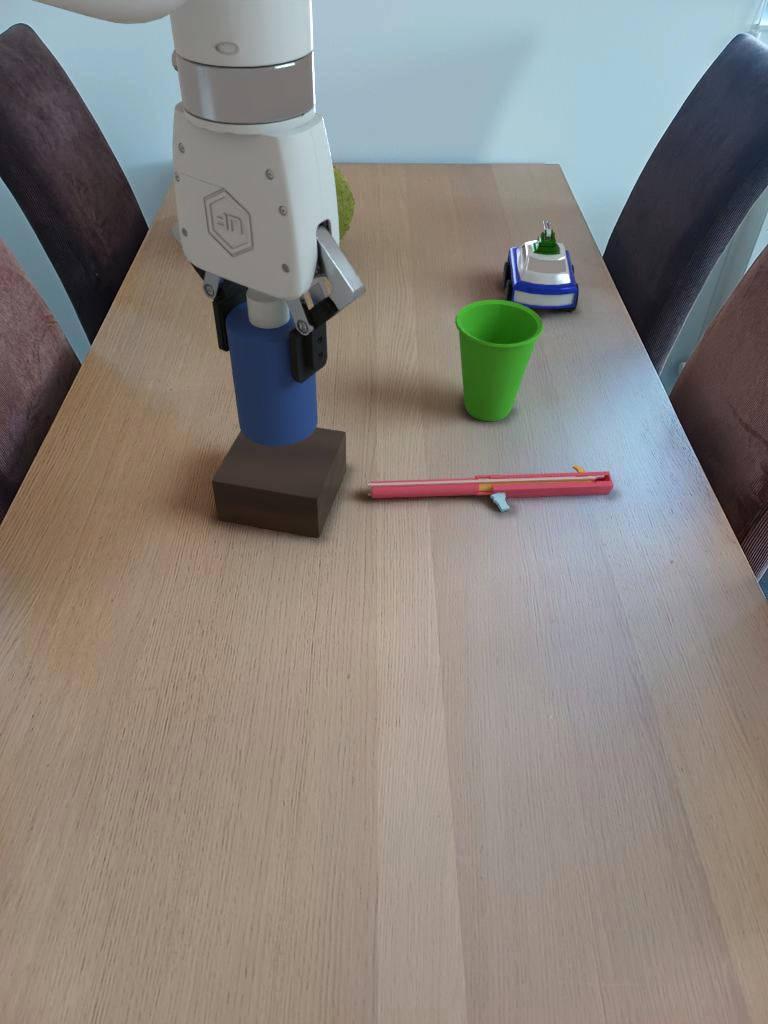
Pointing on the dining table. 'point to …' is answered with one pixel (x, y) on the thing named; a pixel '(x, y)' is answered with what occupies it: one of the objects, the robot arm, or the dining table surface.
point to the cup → (495, 354)
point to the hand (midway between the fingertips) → (272, 355)
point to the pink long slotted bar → (499, 486)
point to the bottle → (268, 373)
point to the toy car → (541, 274)
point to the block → (281, 482)
